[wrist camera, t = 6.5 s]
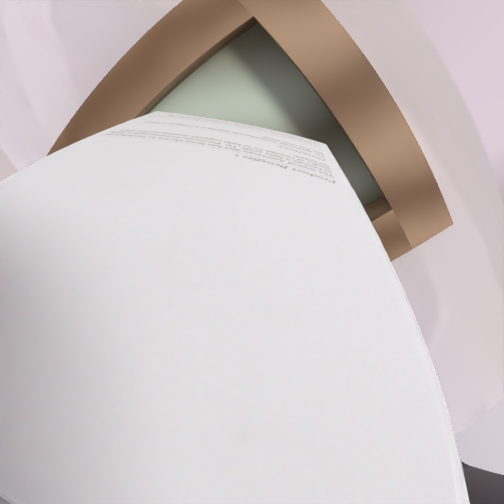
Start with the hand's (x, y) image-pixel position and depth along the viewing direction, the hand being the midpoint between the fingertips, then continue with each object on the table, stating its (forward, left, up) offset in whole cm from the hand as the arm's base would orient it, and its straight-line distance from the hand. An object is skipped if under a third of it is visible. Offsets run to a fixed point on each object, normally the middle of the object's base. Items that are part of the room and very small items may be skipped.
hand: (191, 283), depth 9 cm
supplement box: (0, 0, -6) cm, 6 cm away
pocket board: (0, 0, -11) cm, 11 cm away
